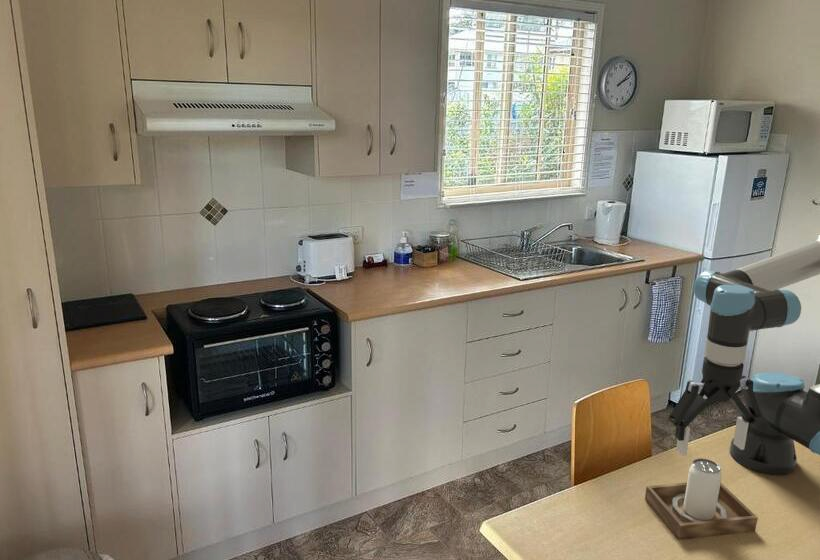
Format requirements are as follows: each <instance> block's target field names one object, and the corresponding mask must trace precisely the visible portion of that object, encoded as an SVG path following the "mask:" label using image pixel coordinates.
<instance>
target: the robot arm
mask: <svg viewBox="0 0 820 560" xmlns="http://www.w3.org/2000/svg"><path fill="white" fill-rule="evenodd" d="M819 275H820V234H819V235H818V236H816V237H814V239H813V240H812V242H810V243H806V244H803V245H802V246H801V245H800V246H797V247H796V248H792V249H789V250H786V251H784V252H781V253H779V254H775V255H773V256H771V257H767V258H764V259H761V260H759V261H756V262H753V263H750V264H746V265H745V266H741V267H738V268H736V269H733V270H729V271H726V272H723V273H721V272H720V271H717V270H716V271H715V270H705V271H703V272H702V273H700V274H699V275H698V276H697V278H696V279H695V281H694V284H693V293H694V296H695V297H696V298H697V300H698V301H700V302H703V303H705V304H707V305H708V306H710V312H709V321H708V327H707V328H708V329H707V334H706V335H707V336H706V342H705V348H704V355H705V356H704V357H703V361H702V368H701V373H702V379H701V381H700V382H695V381H694V380H691V379H689V380H688V381H687V383H686V385H685V389H684V391H683V392H682V395H681V396H680V398H679V400H678V401H677V403H676V404H675V406H674V408H673V409H672V411H671V413H670V414H669V416H668V418H667V419H668V421H669V422H670V423H671V424H672V425H674V426H675V433H674V436H675V438H676V439H677V440H676V447H675V450H677V451H678V452H679V454H680V455H682V456H687V454H688V447H689V440H690V439H689V438H690V431H691V428H690V427H689V425H690V424H691V423H692V422H693V421H694V419H696V418H697V416H699V415H700V413H702V411H703V410H704V409H705V408H706V407H707V406H710V405H711V404H713V403H719V402H724V403H725V402H728V401H730V403H731V404H732V405H733V406H734V408H735V409H736V411H737V412H738V413H739V414H740V416H737V417H736V423H735V429H734V433H733V434H734V436H733V438H732V440H731V442H730V445H729V454H730V456H731V457H732V458H733V459H734V460H735V461H736V462H737V463H739V464H740V465H741V466H744V467H746V468H748V469H750V470H753V471H755V472H759V473H763V474H766V475H775V476H776V475H778V476H781V475H788V474H790V473H793V472H794V471H795V469H796V466H797V461H798V459H797V454H796V447H795V442H796V443H798V444H800V445H801V446H803V447H805V448H807V449H808V450H809V451H810V452H811V453H813V454H816V455H819V456H820V383H819V384H818V383H817V384H815V385H812V386H810V387H809V389H808V391H805V390H804V389H805V388H806V386H805V382H804V380H803V379H802V378H800V377H798V376H796V375H792V374H788V373H783V372H772V371H771V372H769V371H768V372H767V371H766V372H758V373H757V374H754V375H752V377H751V378H749V377H747V376H746V375H743V372H744V366H745V365H744V362H745V361H746V355H747V347H748V343H749V336H750V332H753V331H758V330H765V329H767V330H768V329H773V328H783V327H784V326H789V325H792V324H794V323H795V322H797V321H798V320H799V318H800V317H801V313H802V303H801V301H800V299H799V297H798V296H797V294H796V293H794V292H793V291H792V290H788V289H783V288H786V287H788V286H790V285H794V284H797V283H799V282H801V281H805V280H808V279H811V278H814V277H815V276H819ZM739 388H740V389H741V393H742V395H743V399H744V400H745V401H744V403H743V402H742V400H741V398H740V396H738V394H737V393H736V392H737V391H738V390H739ZM704 396H705V397H706V398H705V397H704ZM794 441H795V442H794Z"/></svg>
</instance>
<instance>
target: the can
mask: <svg viewBox="0 0 820 560" xmlns="http://www.w3.org/2000/svg"><path fill="white" fill-rule="evenodd" d="M688 470H689V471H688V475H687V476H688V477H687V482H686V483H687V487H686V493H685V500H684V510H685V512H686V513H687V514H688V515H689V516H691V517H692V518H695V519H697V520H703V521H706V520H710V519H712V518H713V517H714V516H715V511H716V506H717V500H718V495H719V489H720V483H722V476H723V475H722V471H721V466H720V465H719V464H718V462H715V461H713V460H711V459H709V458H708V459H707V458H696V459H695V458H694V460H693V461H692V464H691V465H690V466H689V469H688Z"/></svg>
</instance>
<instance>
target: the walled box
mask: <svg viewBox="0 0 820 560" xmlns="http://www.w3.org/2000/svg"><path fill="white" fill-rule="evenodd" d="M686 487H687V482H677V483H668V484H658V485H657V484H656V485H647V486H646V488H645V493H644V494H645V495H644V501H645V502H646V503H647V504H648V505H649V506H650V507H651V509H652V510H653V511H654V512H655V514H656V515H657V516H658V517H659V519H660V520H661V521H662V522H663V523H664V524H665V526H666V527H668V529H669V530H670V532H671V533H672V534H673V535H674V536H675V537H676V539H677V540H681V541H682V540H690V539H698V538H708V537H716V536H724V535H725V536H727V535H734V534H735V535H736V534H744V533H753V532H756V530H757V523H758V519H759V517H758V516H757V515H756V514H754V512H753V511H752V510H750V509H749V508H748V507H747V506H746V505H745V504H744V503H743V501H741V500H740V499H739V498H738V497H737V496H736V495H734V493H732V492H731V491H730V490H729V489H728V488H727V486H725V485H723V483H722V482H721V483H720V489H719V495H718V500H717V506H716V511H715V516H714V517H713V518H712V519H710V520H706V521H703V520H697V519H695V518H692V517H691V516H689V515H688V514H687V513H686V512H685V510H684V500H685V493H686Z"/></svg>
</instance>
